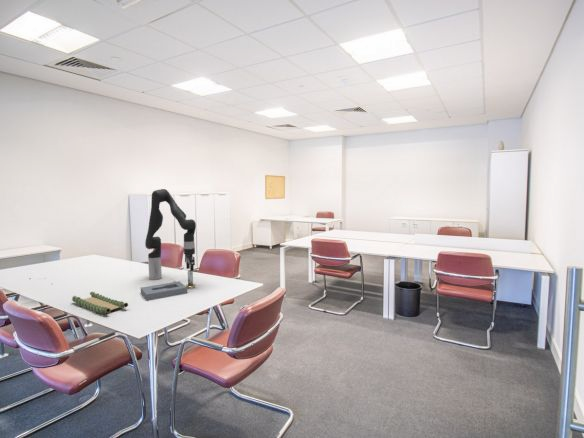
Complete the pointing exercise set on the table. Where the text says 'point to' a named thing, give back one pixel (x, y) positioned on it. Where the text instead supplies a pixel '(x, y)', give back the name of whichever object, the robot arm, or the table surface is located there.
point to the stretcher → (99, 303)
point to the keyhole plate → (163, 290)
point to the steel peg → (190, 280)
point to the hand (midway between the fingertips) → (190, 269)
